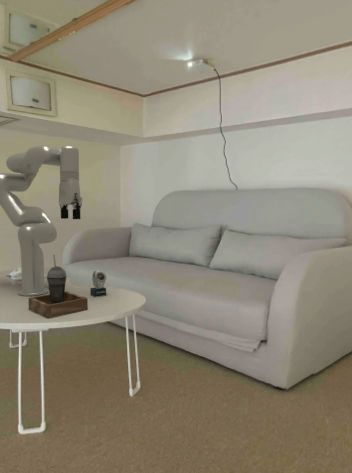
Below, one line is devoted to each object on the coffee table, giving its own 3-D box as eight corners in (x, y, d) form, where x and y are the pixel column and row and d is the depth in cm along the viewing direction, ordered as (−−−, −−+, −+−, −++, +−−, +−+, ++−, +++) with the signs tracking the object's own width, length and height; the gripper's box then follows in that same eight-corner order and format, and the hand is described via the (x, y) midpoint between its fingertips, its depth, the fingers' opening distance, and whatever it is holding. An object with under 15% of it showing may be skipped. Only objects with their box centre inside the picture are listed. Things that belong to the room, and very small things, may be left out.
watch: (96, 297, 161) (96, 272, 160) (88, 294, 168) (88, 270, 167) (108, 295, 165) (108, 271, 164) (100, 292, 171) (100, 268, 170)
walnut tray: (28, 309, 143) (28, 297, 143) (66, 301, 154) (66, 291, 154) (48, 318, 132) (47, 306, 131) (87, 309, 143) (87, 298, 143)
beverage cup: (57, 310, 138) (55, 256, 137) (43, 307, 142) (41, 255, 140) (71, 305, 145) (70, 254, 143) (57, 303, 148) (56, 253, 147)
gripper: (51, 177, 156) (52, 218, 158) (72, 175, 144) (73, 219, 145) (67, 178, 161) (68, 218, 163) (89, 176, 149) (89, 219, 151)
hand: (70, 218), depth 154 cm, fingers open, 9 cm apart
